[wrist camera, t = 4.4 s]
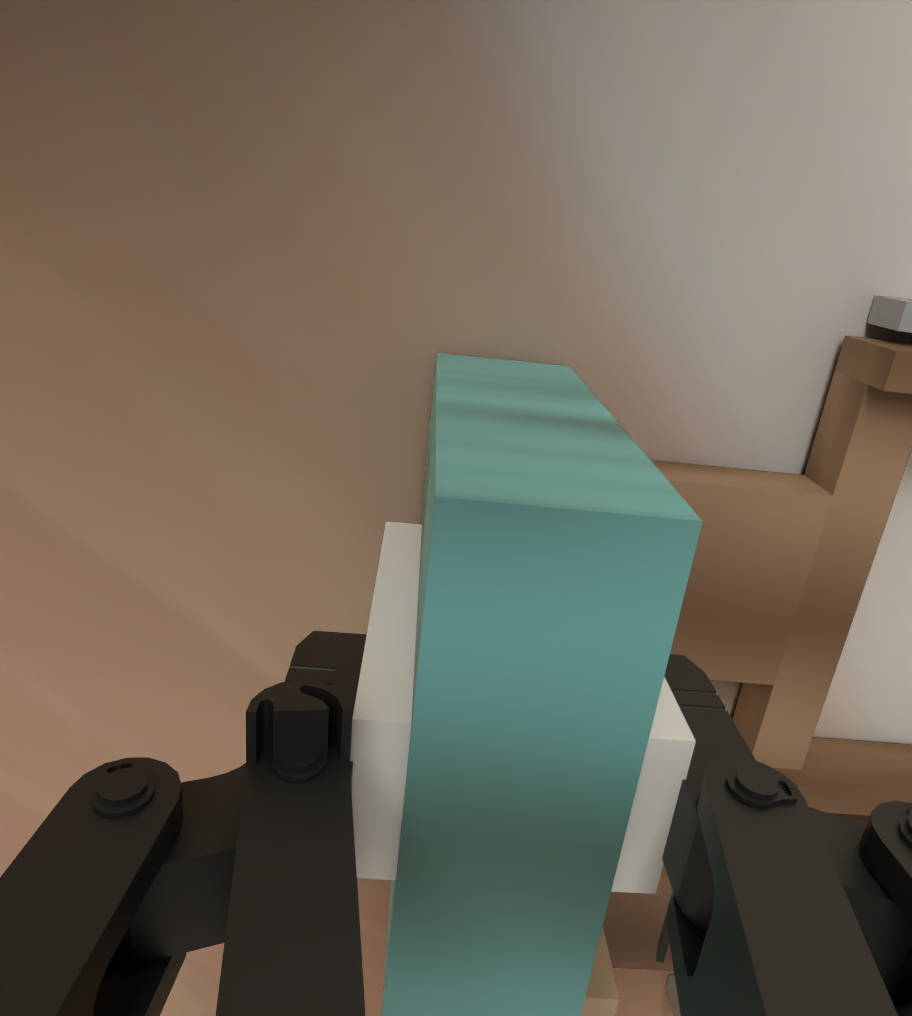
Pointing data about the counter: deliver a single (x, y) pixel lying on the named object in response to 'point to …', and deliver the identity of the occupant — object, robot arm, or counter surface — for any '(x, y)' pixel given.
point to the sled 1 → (609, 655)
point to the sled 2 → (634, 940)
